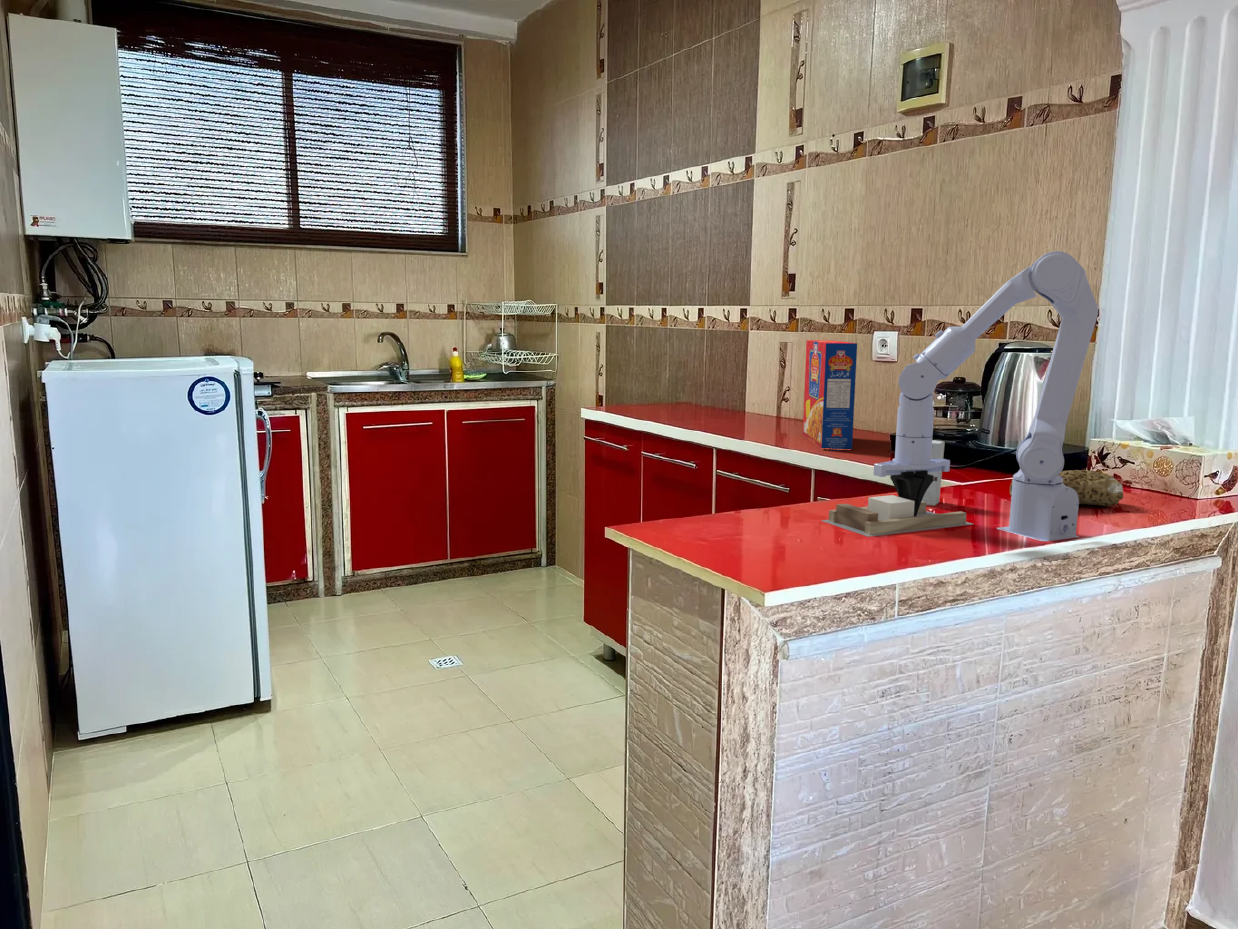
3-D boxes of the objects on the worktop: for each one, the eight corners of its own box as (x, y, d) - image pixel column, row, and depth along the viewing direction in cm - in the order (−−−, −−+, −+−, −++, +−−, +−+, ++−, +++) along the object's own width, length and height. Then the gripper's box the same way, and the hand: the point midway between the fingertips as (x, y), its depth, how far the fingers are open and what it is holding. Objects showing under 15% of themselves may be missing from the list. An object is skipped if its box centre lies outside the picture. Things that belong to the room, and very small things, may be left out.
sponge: (1098, 506, 171) (993, 481, 173) (1113, 469, 169) (1007, 445, 171) (1121, 534, 159) (1009, 507, 161) (1139, 495, 156) (1024, 468, 158)
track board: (973, 527, 147) (973, 523, 147) (867, 540, 138) (868, 536, 138) (921, 512, 158) (922, 509, 158) (820, 523, 149) (820, 520, 149)
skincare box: (901, 505, 164) (905, 440, 162) (906, 501, 168) (910, 437, 166) (936, 509, 161) (940, 443, 159) (940, 504, 165) (945, 440, 163)
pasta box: (802, 436, 260) (806, 340, 256) (830, 436, 260) (834, 340, 256) (821, 450, 233) (826, 343, 228) (851, 450, 233) (857, 343, 228)
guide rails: (965, 523, 147) (966, 505, 147) (869, 534, 139) (870, 516, 139) (920, 511, 157) (922, 494, 156) (828, 520, 149) (829, 503, 148)
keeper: (913, 524, 146) (914, 501, 145) (889, 527, 144) (890, 503, 143) (890, 518, 151) (892, 495, 150) (867, 520, 149) (868, 497, 148)
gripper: (930, 430, 153) (925, 507, 155) (863, 434, 147) (859, 514, 150) (961, 435, 147) (955, 516, 149) (892, 440, 141) (887, 523, 143)
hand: (909, 516), depth 149 cm, fingers closed
